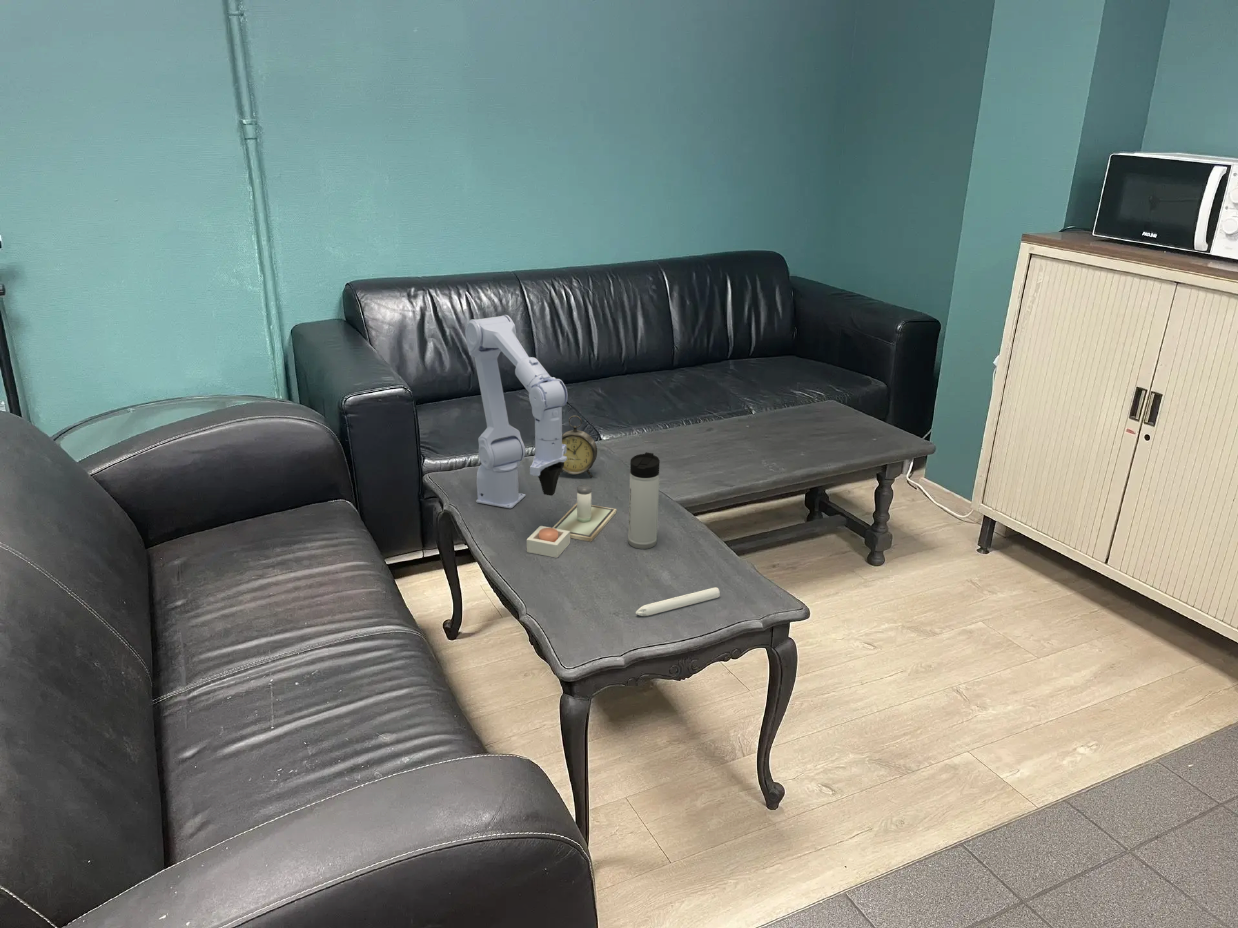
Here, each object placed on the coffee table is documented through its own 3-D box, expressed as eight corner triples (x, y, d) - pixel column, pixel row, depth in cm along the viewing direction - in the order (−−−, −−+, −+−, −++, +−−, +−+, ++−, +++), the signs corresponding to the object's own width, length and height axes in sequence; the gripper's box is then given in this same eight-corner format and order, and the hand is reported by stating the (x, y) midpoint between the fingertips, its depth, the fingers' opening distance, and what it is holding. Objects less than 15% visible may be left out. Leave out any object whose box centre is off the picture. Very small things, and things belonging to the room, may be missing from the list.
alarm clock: (552, 477, 220) (551, 417, 213) (557, 469, 225) (556, 410, 218) (594, 480, 218) (594, 420, 212) (598, 472, 223) (599, 413, 217)
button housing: (526, 551, 182) (526, 539, 181) (540, 537, 188) (540, 525, 187) (557, 557, 180) (556, 545, 179) (570, 543, 186) (569, 531, 185)
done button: (536, 546, 183) (536, 534, 182) (544, 538, 186) (543, 526, 185) (553, 550, 182) (553, 537, 180) (560, 542, 185) (560, 529, 184)
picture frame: (549, 533, 190) (549, 530, 190) (577, 505, 204) (577, 501, 204) (591, 541, 187) (591, 538, 187) (616, 512, 201) (616, 508, 201)
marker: (637, 620, 159) (638, 609, 158) (632, 615, 161) (633, 604, 160) (719, 599, 167) (720, 588, 166) (713, 594, 168) (714, 583, 167)
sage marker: (574, 521, 194) (574, 489, 191) (580, 515, 197) (580, 483, 194) (588, 523, 193) (588, 491, 190) (593, 517, 196) (593, 485, 193)
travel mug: (660, 538, 189) (664, 454, 182) (651, 551, 184) (655, 465, 176) (633, 533, 191) (636, 450, 184) (624, 546, 185) (626, 461, 178)
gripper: (551, 450, 175) (551, 510, 180) (579, 428, 187) (578, 484, 193) (520, 445, 177) (521, 504, 182) (549, 423, 190) (550, 479, 195)
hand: (549, 493), depth 188 cm, fingers closed
